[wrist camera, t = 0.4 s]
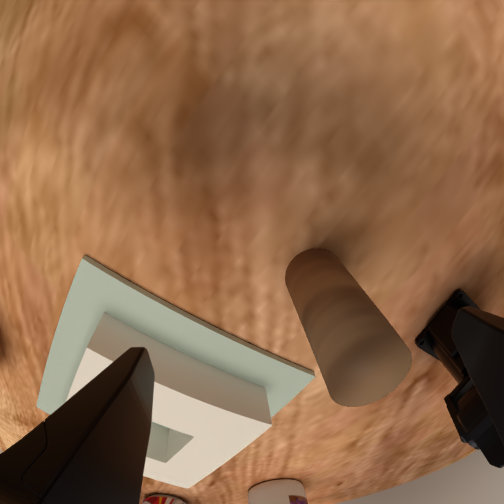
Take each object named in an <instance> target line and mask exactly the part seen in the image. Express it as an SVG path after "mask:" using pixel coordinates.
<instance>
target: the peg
mask: <svg viewBox="0 0 504 504" xmlns="http://www.w3.org/2000/svg"><path fill="white" fill-rule="evenodd" d="M285 282H286V286H287V288H288V291H289V293H290V296H291V298H292V301H293V303H294V306H295V308H296V311H297V313H298V316H299V318H300V320H301V323H302V325H303V328H304V330H305V333H306V335H307V338H308V340H309V343H310V345H311V348H312V350H313V353H314V356H315V358H316V361H317V363H318V366H319V368H320V371H321V373H322V376H323V378H324V381H325V383H326V386H327V389H328V391H329V394H330V396H331V398H332V399H333V400H334V401H335V402H336V403H337V404H340V405H342V406H347V407H357V406H363V405H367V404H370V403H373V402H375V401H377V400H379V399H381V398H383V397H385V396H386V395H388V394H389V393H390V392H392V391H393V390H394V389H395V388H396V387H397V386H398V385H399V384H400V383H401V382H402V381H403V380H404V378H405V377H406V375H407V373H408V371H409V369H410V366H411V361H412V355H411V352H410V350H409V348H408V347H407V345H406V344H405V343H404V341H403V340H402V339H401V337H400V336H399V335H398V333H397V332H396V331H395V330H394V328H393V327H392V326H391V324H390V323H389V322H388V320H387V319H386V318H385V317H384V315H383V314H382V313H381V312H380V310H379V309H378V308H377V306H376V305H375V304H374V303H373V301H372V300H371V299H370V298H369V296H368V295H367V294H366V293H365V291H364V290H363V289H362V288H361V286H360V285H359V284H358V283H357V282H356V280H355V279H354V278H353V277H352V275H351V274H350V273H349V272H348V271H347V269H346V268H345V267H344V266H343V264H342V263H341V262H340V261H339V260H338V259H337V257H336V256H335V255H334V254H333V253H331V252H330V251H327V250H325V249H319V248H317V249H309V250H306V251H304V252H302V253H300V254H299V255H297V256H296V257H295V258H294V259H293V260H292V261H291V263H290V264H289V266H288V268H287V271H286V275H285Z"/></svg>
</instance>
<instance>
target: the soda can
mask: <svg viewBox="0 0 504 504" xmlns="http://www.w3.org/2000/svg"><path fill="white" fill-rule="evenodd" d="M143 504H186V503H185V502H183V501H182V500H181V499H179V498H177V497H174V496H170V495H163V494H156V495H151V496H150V497H147V498H145V499H144V500H143Z"/></svg>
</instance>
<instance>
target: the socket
mask: <svg viewBox="0 0 504 504" xmlns="http://www.w3.org/2000/svg"><path fill="white" fill-rule="evenodd" d="M131 347H145V348H146V349H147V350H148V353H149V356H150V360H151V363H152V366H153V369H154V374H155V381H154V394H153V408H152V423H151V431H150V437H149V443H148V449H147V455H146V461H145V467H144V473H143V476H145V477H149V478H152V479H155V480H158V481H161V482H165V483H168V484H172V485H176V486H179V487H183V488H187V489H188V488H190V487H191V486H193V485H194V484H196V483H197V482H199V481H200V480H202V479H203V478H204V477H206V476H207V475H209V474H210V473H212V472H213V471H214V470H216V469H217V468H219V467H220V466H221V465H223V464H224V463H225V462H227V461H228V460H229V459H231V458H232V457H233V456H235V455H236V454H237V453H239V452H240V451H241V450H242V449H244V448H245V447H246V446H248V445H249V444H250V443H251V442H253V441H254V440H255V439H256V438H258V437H259V436H260V435H261V434H262V433H264V432H265V431H266V430H267V429H268V428H270V427H271V426H272V421H271V418H272V417H273V416H274V415H275V414H276V413H277V412H278V411H280V410H281V409H282V408H283V407H284V406H285V405H286V404H287V403H288V402H289V401H291V400H292V399H293V398H294V397H295V396H296V395H297V394H298V393H299V392H300V391H301V390H302V389H303V388H304V387H305V386H306V385H307V384H308V383H310V382H311V381H312V380H313V379H314V378H315V377H316V376H315V374H314V372H313V371H311V370H308V369H306V368H303V367H301V366H299V365H296V364H294V363H292V362H289V361H287V360H285V359H283V358H280V357H278V356H276V355H274V354H271V353H269V352H267V351H265V350H262V349H260V348H258V347H256V346H254V345H252V344H249V343H247V342H245V341H243V340H241V339H239V338H237V337H235V336H233V335H230V334H228V333H226V332H224V331H222V330H220V329H218V328H216V327H214V326H212V325H210V324H208V323H206V322H204V321H202V320H200V319H198V318H196V317H194V316H192V315H190V314H189V313H187V312H185V311H183V310H181V309H179V308H177V307H175V306H173V305H171V304H170V303H168V302H166V301H164V300H162V299H160V298H158V297H157V296H155V295H153V294H151V293H149V292H148V291H146V290H144V289H142V288H140V287H139V286H137V285H135V284H133V283H132V282H130V281H128V280H126V279H125V278H123V277H121V276H119V275H118V274H116V273H114V272H113V271H111V270H109V269H108V268H106V267H104V266H102V265H101V264H99V263H98V262H96V261H94V260H93V259H91V258H89V257H88V256H86V255H85V256H84V257H83V258H82V260H81V262H80V265H79V267H78V270H77V272H76V275H75V277H74V280H73V283H72V285H71V288H70V291H69V293H68V296H67V299H66V302H65V305H64V307H63V310H62V313H61V316H60V319H59V322H58V326H57V329H56V332H55V335H54V338H53V342H52V345H51V349H50V352H49V356H48V359H47V363H46V367H45V371H44V375H43V379H42V383H41V387H40V392H39V396H38V401H37V406H36V407H38V408H39V409H41V410H43V411H44V412H46V413H48V414H50V415H51V414H52V413H53V412H54V411H55V410H57V409H58V408H59V407H60V406H61V405H63V404H64V403H65V402H66V401H67V400H68V399H70V398H71V397H72V396H73V395H74V394H76V393H77V392H78V391H79V390H80V389H82V388H83V387H84V386H85V385H86V384H87V383H89V382H90V381H91V380H92V379H93V378H95V377H96V376H97V375H98V374H99V373H100V372H102V371H103V370H104V369H105V368H106V367H108V366H109V365H110V364H111V363H112V362H114V361H115V360H116V359H117V358H118V357H119V356H121V355H122V354H123V353H124V352H125V351H127V350H128V349H129V348H131Z"/></svg>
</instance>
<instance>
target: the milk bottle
mask: <svg viewBox="0 0 504 504" xmlns="http://www.w3.org/2000/svg"><path fill="white" fill-rule="evenodd" d="M248 503H249V504H308V503H307V498H306V494H305V490H304V487H303V485H302V484H301V483H300V482H299V481H296V480H291V479H280V480H272V481H267V482H264V483H260V484H258V485H256V486H254V487H252V488H251V489H250V490H249V492H248Z"/></svg>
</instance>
